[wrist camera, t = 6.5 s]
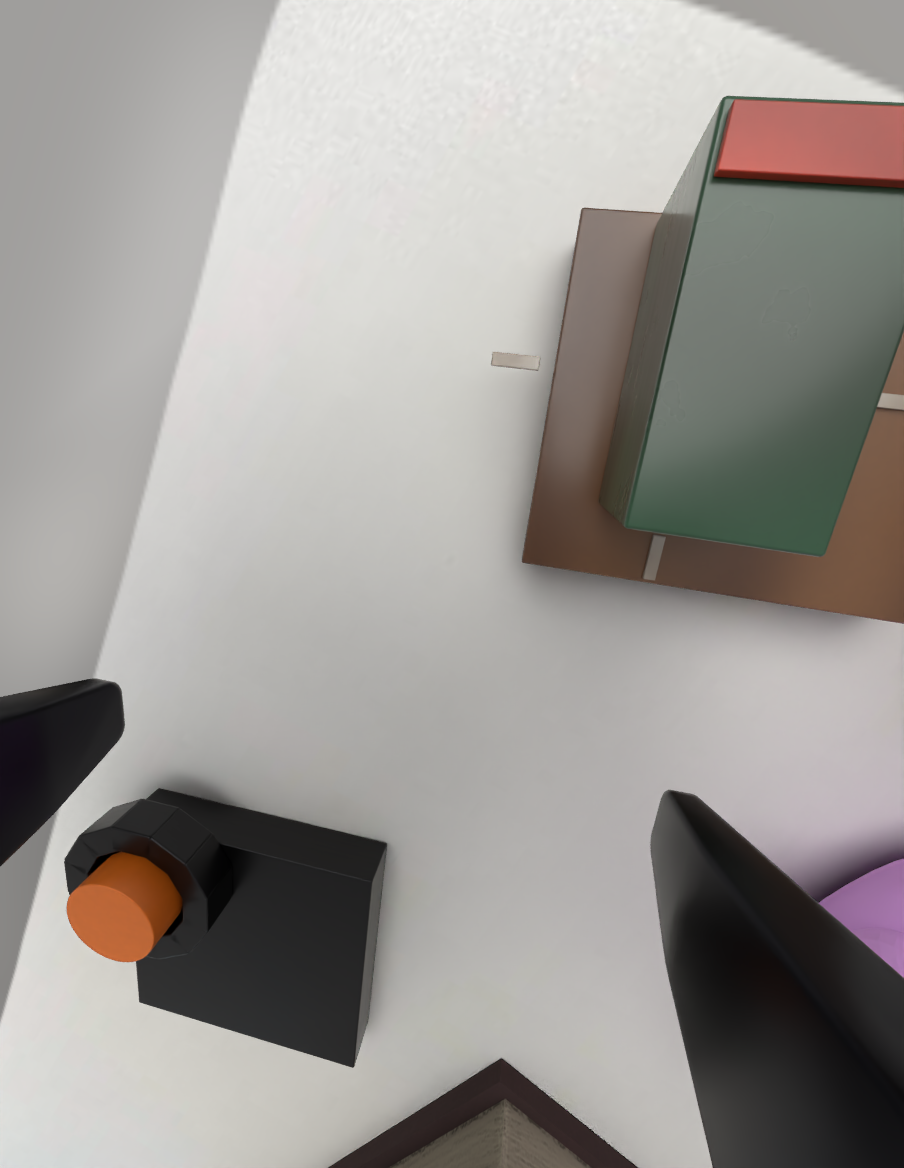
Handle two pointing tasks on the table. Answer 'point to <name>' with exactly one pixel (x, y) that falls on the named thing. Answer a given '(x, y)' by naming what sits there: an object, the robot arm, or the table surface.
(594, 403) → the flat brown box
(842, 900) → the teapot
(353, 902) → the button block
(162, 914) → the button
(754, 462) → the green box
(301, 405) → the table surface
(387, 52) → the table surface
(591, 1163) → the book
